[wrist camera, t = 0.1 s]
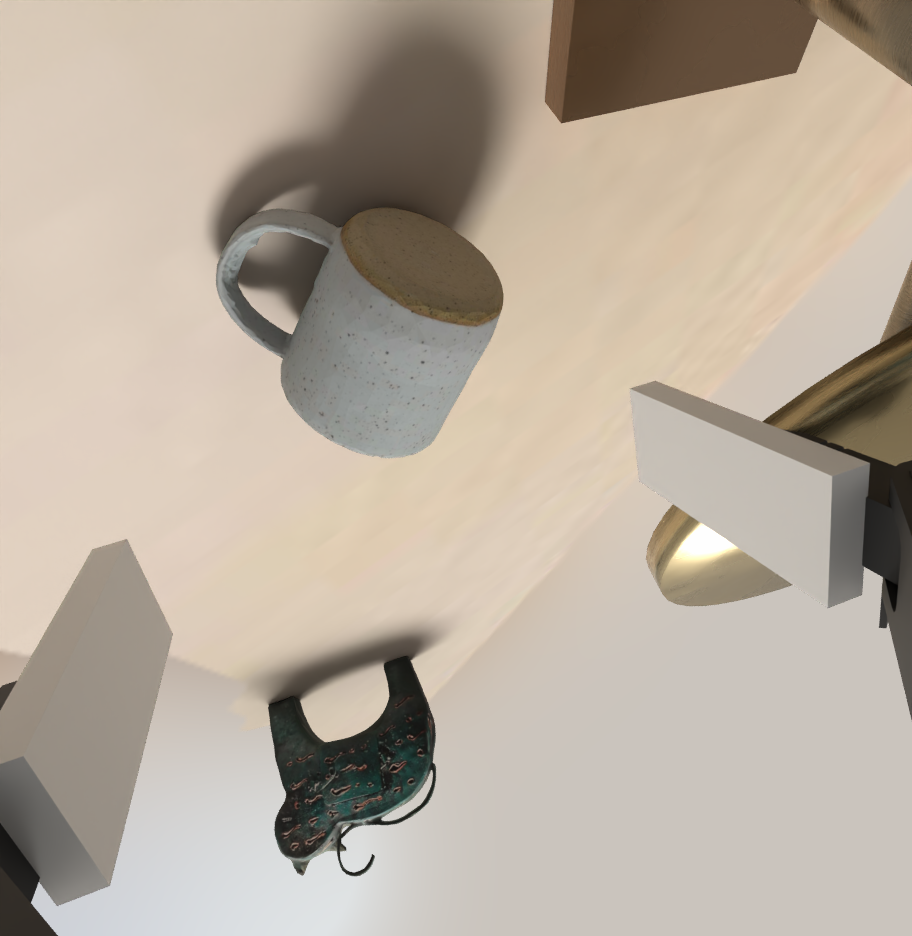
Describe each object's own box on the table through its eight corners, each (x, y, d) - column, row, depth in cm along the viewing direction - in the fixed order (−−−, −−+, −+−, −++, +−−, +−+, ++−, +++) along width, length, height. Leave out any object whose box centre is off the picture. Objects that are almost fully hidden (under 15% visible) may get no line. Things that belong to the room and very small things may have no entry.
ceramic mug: (483, 217, 28) (547, 337, 24) (412, 351, 33) (454, 467, 29) (235, 147, 22) (263, 287, 18) (199, 321, 28) (214, 458, 24)
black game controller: (267, 715, 79) (295, 901, 68) (247, 706, 73) (274, 906, 63) (418, 661, 80) (468, 835, 70) (409, 648, 74) (462, 835, 64)
